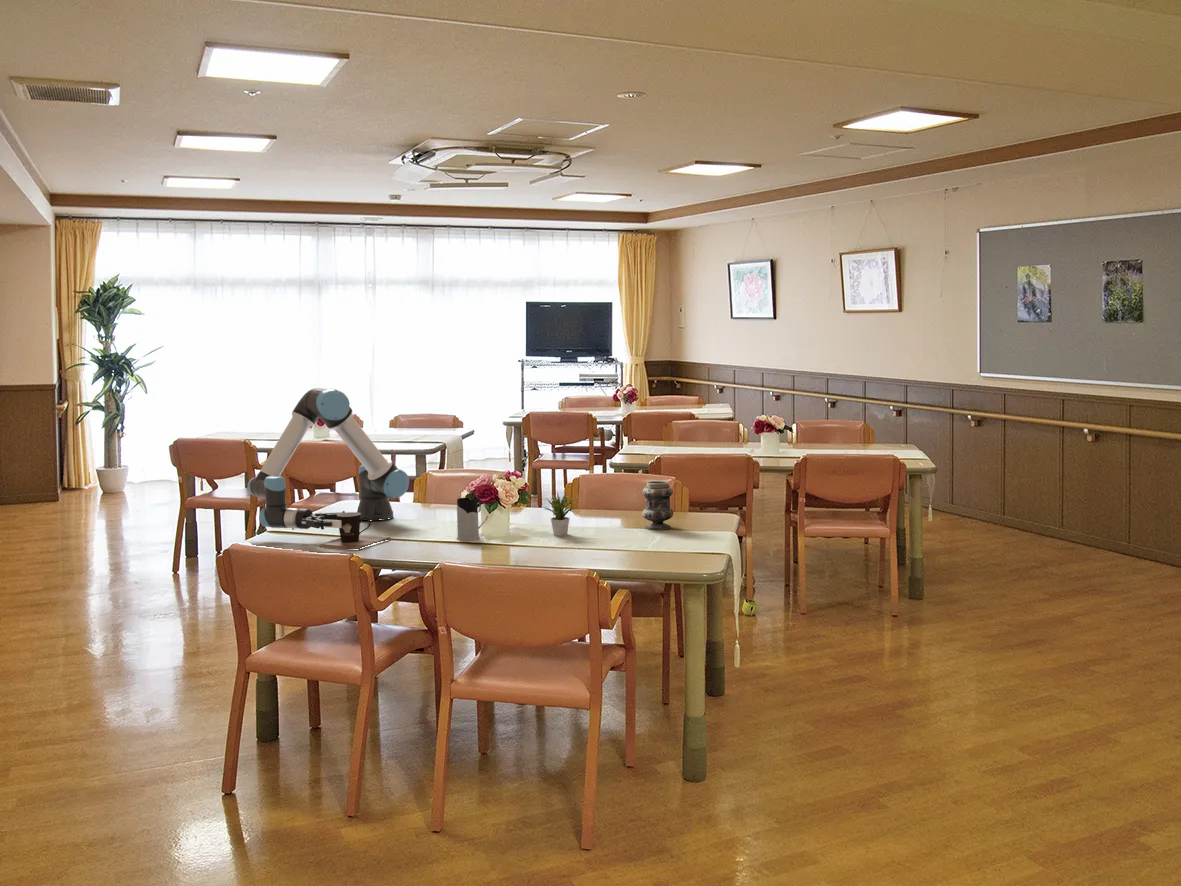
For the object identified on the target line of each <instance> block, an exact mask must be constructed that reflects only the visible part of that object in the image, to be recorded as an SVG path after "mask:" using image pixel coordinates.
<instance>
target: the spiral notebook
mask: <svg viewBox="0 0 1181 886" xmlns="http://www.w3.org/2000/svg"><path fill="white" fill-rule="evenodd" d="M389 539H391V540H392V538H391V536H386V535H372V534H362V533H360V535H359V541H358V542H353V543H343V542H341V537H339V538H336V539H335V538H334V539H332V540H329V541H325V542H322V543H320V544H319V547H320V548H324V549H325V548H327V549H336V550H345V549H360V548H362V547H365V546H368V545H371V544H373V543H377V542H381V541H385V540H389ZM389 541H390V540H389Z"/></svg>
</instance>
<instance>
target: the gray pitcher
mask: <svg viewBox="0 0 1181 886" xmlns="http://www.w3.org/2000/svg"><path fill="white" fill-rule="evenodd" d="M481 511H482V504H481V505H480V504H479V508H478V498H477V499H476V500H470V499H469V498H468V497H459V498H457V500H456V519H457V520H456V521H457V522H456V524H457V526H456V527H457V537H456V540H457V541H461V542H462V541H463V542H470V541H471V542H472V541H477V540H480V539H481V537H480V534H479V530H480V529H481V528H482V526H483V525H484V524H485V523H486V521H487V520H488V518H489V516H487V515H486V517H485V519H484V520H483V521H482V522H481V524H480V525H479V513H480V512H481Z"/></svg>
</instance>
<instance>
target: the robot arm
mask: <svg viewBox="0 0 1181 886" xmlns="http://www.w3.org/2000/svg"><path fill="white" fill-rule="evenodd" d="M350 405H351V403H350V400H349V398H348V396H347V394H345V393H344V392H342V391H341V390H338V389H336V388H323V387H322V388H321V387H314V388H311V389H309V390H308V391H307V392H306V393H304V394H303V396H302V397H301V398H300V399H299V401H298V402H297V403H296V405H295V407H294V408H293V410H292V412H291V416H292V417H291V418H290V420H289V422H288V423H287V426H286V427H285V429H284V430H283V432H282V433H281V435H280V437H279V438H278V440H277V442H276V443H275V445H274V447H273V449H272V450H271V452H270V453H269V455H268V457H267V458H266V461H265V462H264V464H263V465H262V467H261V469H259V470H260V471H259V472H258V474H257V475H256V476H255V477H252V478H251V479H249V481H248V483H247V491H248V493H249V494H250V495H252V496H253V497H256V498H258V499H259V498H261V499H263V500H264V501H265V506H264V507H263V508H261V510H260V512H259V516H258V519H259V523H260V524H261V526H262V527H265V528H273V529H275V528H277V529H280V528H281V529H291V530H293V531H295V529H299V530H308V529H310V528H315V529H320V530H325V528H333V529H334V528H335V529H339V528H342V524H341V520H338V519H337V514H340V513H346V512H345V510H342V511H340V512H319V513H318V512H317V513H313V512H312V510H311V509H310V508H295V507H294V508H292V507H289V508H288V507H287V485H286V479H285V477H284V476H282V473H283V471H284V470H285V468H286V466H287V465H288V463H289V461H290V460H291V458H292V457H293V455H294V453H295V452H296V450H297V448H298V446H299V445H300V443H301V442H302V440H303V438H304V436H305V435H306V433H307V431H308V430H309V428H310V427H313V426H314V425H315V423H316V422H317V421H318V420H319V419H320V420H321V421H322V423H324V425H325V426H326V427H327V428H328V429H329V430H334V431H335V432H336V434H338V436H339V437H340V439H341V440H342V441H343V443H345V445H346V446H347V447H348V449H349V450H350V451H351V452H352V454H353V455H354V456H355V458H356V459H357V460H358V461H359V462H360V464H361V465H360V466H359V467H358V483H359V484H358V487H359V504H358V507H357V511H356V512H357V513H361V518H360V519H362V518H364V517H366V518H369V519H370V520H379V519H388V518H392V517H393V518H394V510H393V508H392V506H391V502H390V500H389V499H397V498H401V497H402V496H403V495H405V494H406V493H407V491H408V489H409V485H410V479H409V476H408V474H407V473H406V471H404V470H402V469H399V468H398V467H397V466H396V465H395V463H394V462H393V460H392V459H390V458H389V459H388V458H385V456H384V455H383V454H382V452H381V451H380V450H379V449H378V447H377V446H376V445H375V443H373V441H372V439H371V438H369V436H368V434H367V433H366V432H365V431H364V429H363V428H362V427H361V426H360V424H359V423H358V422H357V421H356V419H355V418H354V416H352V415H353V409H352V408H351V406H350ZM393 518H392V519H393ZM363 520H367V519H363ZM388 520H389V519H388Z"/></svg>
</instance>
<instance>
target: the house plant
mask: <svg viewBox="0 0 1181 886" xmlns="http://www.w3.org/2000/svg"><path fill="white" fill-rule="evenodd" d="M551 497H552V498H550V500H551V501H550V500H549V499H548V498H546V500H547V501H548V503H549V504H550V505H551V507H552V509H550V508H547V507H546V508H544V510H545V511H546V510H547V511H550V512H552V514H553V517H551V518H550V522H551V527H552V528H551V529H552V532H553V535H554V536H556V537H562V536H563V537H564V536H567V535H568V531H569V525H570V517H568V516H567V514H569V512H572V513H573V514H575V513H574V510H575V509H574V506H572V507H570V508H569V506H570V505H572V504H576V503H577V501H574V500H575V499H577V498H578V496H576V497H573V498H569V497H570V494H568V495H567V492H565V494H564V495H563V497H562V498H560V495H559V492H556V497H555V496H554V495H553V494H551ZM573 501H574V502H573ZM576 507H578V506H576V505H575V508H576Z"/></svg>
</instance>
